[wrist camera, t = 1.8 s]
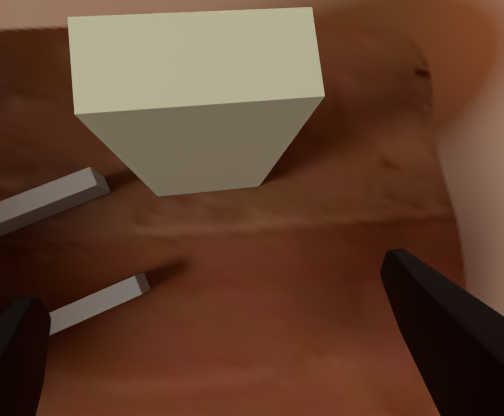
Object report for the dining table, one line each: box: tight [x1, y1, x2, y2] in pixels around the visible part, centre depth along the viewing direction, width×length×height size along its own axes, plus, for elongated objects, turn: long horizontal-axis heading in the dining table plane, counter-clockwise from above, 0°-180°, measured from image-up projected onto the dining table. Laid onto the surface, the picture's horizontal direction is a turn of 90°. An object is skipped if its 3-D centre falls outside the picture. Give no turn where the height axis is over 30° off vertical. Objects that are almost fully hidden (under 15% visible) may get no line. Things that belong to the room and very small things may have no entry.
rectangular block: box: [68, 7, 325, 196], centre depth 15 cm, size 2×6×13 cm, turn 97°
